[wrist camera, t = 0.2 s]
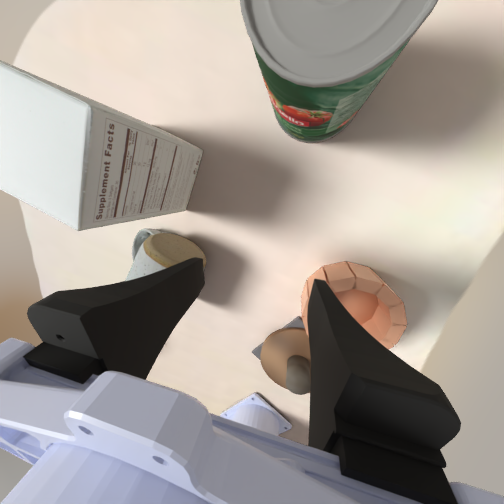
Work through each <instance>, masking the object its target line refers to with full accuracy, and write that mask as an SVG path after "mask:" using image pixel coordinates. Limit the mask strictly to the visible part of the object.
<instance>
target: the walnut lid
mask: <svg viewBox="0 0 504 504" xmlns="http://www.w3.org/2000/svg"><path fill="white" fill-rule="evenodd" d="M260 359H261V364H262V367H263V369H264V371H265V372H266V374H267V375H268V376H269V377H270V378H271V379H272V380H273V381H274V382H275V383H277V384H278V385H280V386H282V387H284V388H286V389H288V390H290V391H291V392H293V393H295V394H299V395H302V394H306V393H310V385H311V358H310V345H309V337H308V335H307V333H306V330H305V328H299V327H288V328H283V329H279V330H277V331H275V332H273V333H272V334H270V335H269V336H268V337H267V338H266V340H265V341H264V343H263V346H262V349H261V354H260Z"/></svg>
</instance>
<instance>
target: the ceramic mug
mask: <svg viewBox="0 0 504 504" xmlns="http://www.w3.org/2000/svg"><path fill="white" fill-rule="evenodd" d="M150 234H151V236H150ZM132 256H133V262H134V263H133V265H132V267H131V269H130V271H129V273H128V276H127V278H126V280H125V281H128V280H132V279H136V278H139V277H143V276H146V275H149V274H152V273H155V272H157V271H160V270H163V269H165V268H168V267H170V266H173V265H175V264H178V263H180V262H183V261H185V260H188V259H190V258H193V257H197V258H202V259H203V266H204V269H205V266H206V257H205V255H204V253H203V252H202V250H201V249H200V248H199V247H198V246H197V245H196V244H195V243H193V242H191V241H190V240H188V239H186V238H184V237H181V236H178V235H174V234H169V233H162V232H160V231H159V230H156V229H142V230H140V231H139V232H138V233H137V235H136V237H135V239H134V242H133V248H132Z"/></svg>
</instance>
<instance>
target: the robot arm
mask: <svg viewBox="0 0 504 504" xmlns="http://www.w3.org/2000/svg"><path fill="white" fill-rule="evenodd" d="M204 284H205V282H204V266H203V259H202V258H197V257H193V258H190V259H188V260H185V261H183V262H180V263H178V264H175V265H173V266H170V267H168V268H165V269H163V270H160V271H157V272H155V273H152V274H149V275H146V276H143V277H139V278H136V279H132V280H128V281H124V282H119V283H115V284H110V285H105V286H99V287H92V288H85V289H75V290H66V291H57V292H55V293H53V294H51V295H49V296H47V297H46V298H44V299H42V300H40V301H39V302H37V303H35V304H33V305H31V306H30V307H29V308H28V312H27V315H28V318H29V320H30V322H31V324H32V326H33V327H34V329H35V330H36V332H37V333H38V335H39V336H40V338H41V339H42V341H43V343H41V344H40V345H38V346H37V347H34V346H33V345H32V344H30V343H27V342H24V341H21V340H18V339H15V338H9V339H7V340H6V341H5V342H3V343H1V344H0V448H2V449H4V450H5V451H8V452H9V453H11V454H13V455H15V456H17V457H19V458H21V459H22V460H24V461H26V462H28V463H30V464H32V465H33V467H32V468H31V469H30V470H29V471H28V472H27V474H26V475H25V476H24V477H23V478H22V479H21V481H20V482H19V483H18V484H17V485H16V486H15V487H14V488H13V490H12V491H11V492H10V493H9V494H8V495H7V497H6V498H5V499H4V500H3V501H2V502H1V503H0V504H504V496H501V495H498V494H495V493H492V492H489V491H486V490H483V489H480V488H477V487H473V486H470V485H467V484H464V483H459V482H451V483H449V482H448V480H447V478H446V476H445V473H444V471H443V469H442V468H445V467H446V462H445V459H444V457H443V455H442V453H441V451H440V449H441V448H442V447H443V446H445V445H446V444H447V443H448V442H449V441H451V440H452V439H453V438H454V437H455V436H456V435H457V433H458V432H459V431H460V426H461V422H460V419H459V417H458V415H457V414H456V412H455V410H454V408H453V407H452V405H451V403H450V402H449V400H448V398H447V397H446V395H445V393H444V392H443V390H442V389H441V387H440V386H439V385H438V384H436V383H435V382H433V381H432V380H430V379H429V378H427V377H426V376H424V375H423V374H421V373H420V372H418V371H417V370H415V369H414V368H412V367H411V366H410V365H408V364H407V363H405V362H404V361H403V360H401V359H400V358H399V357H397V356H396V355H395V354H393V353H392V352H391V351H390V350H388V349H387V348H386V347H384V346H383V345H382V344H381V343H380V342H379V341H377V340H376V339H375V338H374V337H373V336H372V335H371V334H369V333H368V332H367V331H366V330H365V329H364V328H363V327H362V326H361V325H360V324H359V323H358V322H357V321H356V320H355V319H354V318H353V317H352V315H351V314H350V313H349V312H348V311H347V310H346V308H345V307H344V306H343V305H342V303H341V302H340V301H339V300H338V298H337V297H336V295H335V294H334V293H333V291H332V290H331V288H330V287H329V285H328V284H327V282H326V281H325V280H320V279H315V278H314V282H313V286H312V290H311V294H310V298H309V302H308V311H307V323H308V335H309V345H310V358H311V385H310V422H309V445H308V446H307V445H304V444H301V443H298V442H295V441H292V440H289V439H286V438H283V437H280V436H279V434H281V433H283V432H285V431H287V430H290V429H291V428H292V425H291V424H290V423H289V422H288V421H287V420H286V419H285V418H284V417H283V416H282V415H280V414H279V413H278V412H277V411H276V410H275V409H274V408H273V407H271V406H270V405H269V404H268V403H267V402H266V401H265V400H264V399H262V398H261V397H260V396H259V395H258V394H257V393H253V394H252V395H250V396H248V397H247V398H245V399H244V400H242V401H240V402H239V403H237V404H235V405H234V406H232V407H230V408H229V409H227V410H226V411H224V412H222V413H221V415H220V416H217V415H214V414H211V413H209V412H208V410H207V408H206V407H205V406H204V405H203V404H202V403H201V402H199V401H198V400H197V399H196V398H194V397H192V396H190V395H188V394H185V393H183V392H181V391H178V390H175V389H172V388H169V387H165V386H162V385H159V384H156V383H153V382H150V381H147V380H146V378H147V376H148V374H149V372H150V370H151V368H152V366H153V364H154V362H155V360H156V358H157V357H158V355H159V353H160V351H161V350H162V348H163V346H164V344H165V342H166V341H167V339H168V337H169V336H170V334H171V333H172V331H173V329H174V328H175V326H176V325H177V323H178V322H179V321H180V319H181V318H182V317H183V315H184V314H185V313H186V311H187V310H188V309H189V307H190V306H191V305H192V303H193V302H194V301H195V299H196V298H197V297H198V295H199V293H200V292H201V290H202V288H203V286H204Z"/></svg>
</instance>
